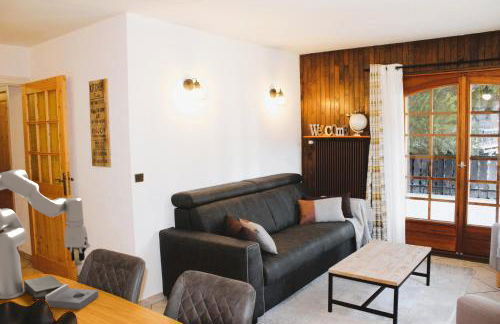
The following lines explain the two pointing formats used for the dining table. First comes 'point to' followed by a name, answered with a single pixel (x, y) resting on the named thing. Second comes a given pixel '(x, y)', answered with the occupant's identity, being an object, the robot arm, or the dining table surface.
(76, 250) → the brass pin
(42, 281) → the stone block
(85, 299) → the plate
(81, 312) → the dining table surface
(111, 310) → the dining table surface
